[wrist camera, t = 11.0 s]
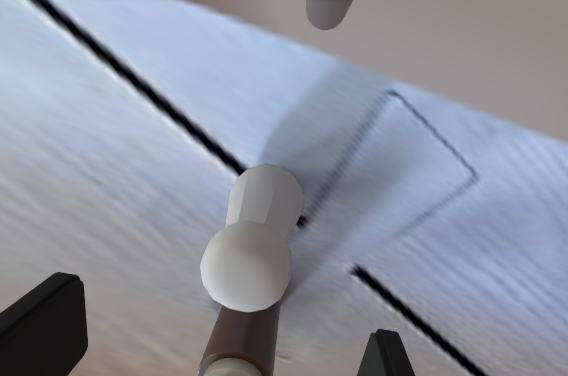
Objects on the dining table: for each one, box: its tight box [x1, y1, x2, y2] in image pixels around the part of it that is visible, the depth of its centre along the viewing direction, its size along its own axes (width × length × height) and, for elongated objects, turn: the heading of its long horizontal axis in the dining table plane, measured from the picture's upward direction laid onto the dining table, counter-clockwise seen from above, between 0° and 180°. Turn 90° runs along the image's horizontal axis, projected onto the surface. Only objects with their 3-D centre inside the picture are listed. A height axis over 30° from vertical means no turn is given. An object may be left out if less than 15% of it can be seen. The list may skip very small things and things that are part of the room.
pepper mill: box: [197, 299, 281, 376], centre depth 23 cm, size 5×5×11 cm
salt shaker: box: [200, 164, 304, 312], centre depth 19 cm, size 6×6×13 cm
